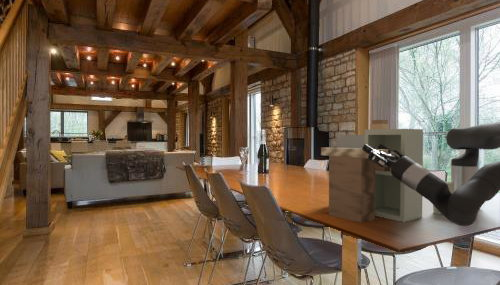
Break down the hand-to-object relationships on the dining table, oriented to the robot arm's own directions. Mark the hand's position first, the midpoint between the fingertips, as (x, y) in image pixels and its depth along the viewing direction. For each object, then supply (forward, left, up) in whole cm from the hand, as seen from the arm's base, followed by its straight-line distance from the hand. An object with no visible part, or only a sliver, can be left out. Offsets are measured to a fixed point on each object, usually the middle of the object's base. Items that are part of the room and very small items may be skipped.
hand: (371, 146), depth 111 cm
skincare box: (-33, -9, -26) cm, 44 cm away
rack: (-12, -8, -26) cm, 30 cm away
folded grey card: (-5, -26, -26) cm, 38 cm away
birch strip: (+4, -7, -4) cm, 9 cm away
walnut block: (+4, -7, -26) cm, 27 cm away
